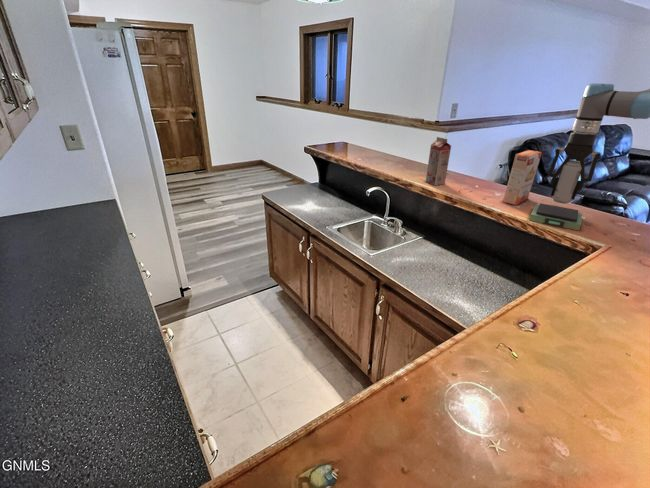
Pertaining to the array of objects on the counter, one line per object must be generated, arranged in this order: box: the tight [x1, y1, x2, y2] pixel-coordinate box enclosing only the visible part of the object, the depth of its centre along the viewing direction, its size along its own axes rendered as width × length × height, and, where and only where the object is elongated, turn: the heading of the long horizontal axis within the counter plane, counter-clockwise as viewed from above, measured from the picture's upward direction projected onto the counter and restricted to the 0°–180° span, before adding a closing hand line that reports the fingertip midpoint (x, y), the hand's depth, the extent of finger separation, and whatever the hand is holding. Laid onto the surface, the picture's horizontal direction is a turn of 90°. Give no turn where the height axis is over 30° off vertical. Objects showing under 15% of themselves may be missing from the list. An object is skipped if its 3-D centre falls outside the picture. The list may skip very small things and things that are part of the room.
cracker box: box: [502, 149, 543, 206], centre depth 149 cm, size 14×6×21 cm, turn 132°
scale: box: [529, 204, 583, 231], centre depth 133 cm, size 16×15×2 cm
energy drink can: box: [551, 160, 582, 204], centre depth 128 cm, size 6×6×15 cm
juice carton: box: [425, 136, 452, 186], centre depth 171 cm, size 7×7×22 cm
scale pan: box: [536, 202, 579, 222], centre depth 133 cm, size 13×12×1 cm
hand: (562, 196), depth 130 cm, fingers closed on energy drink can, 6 cm apart
